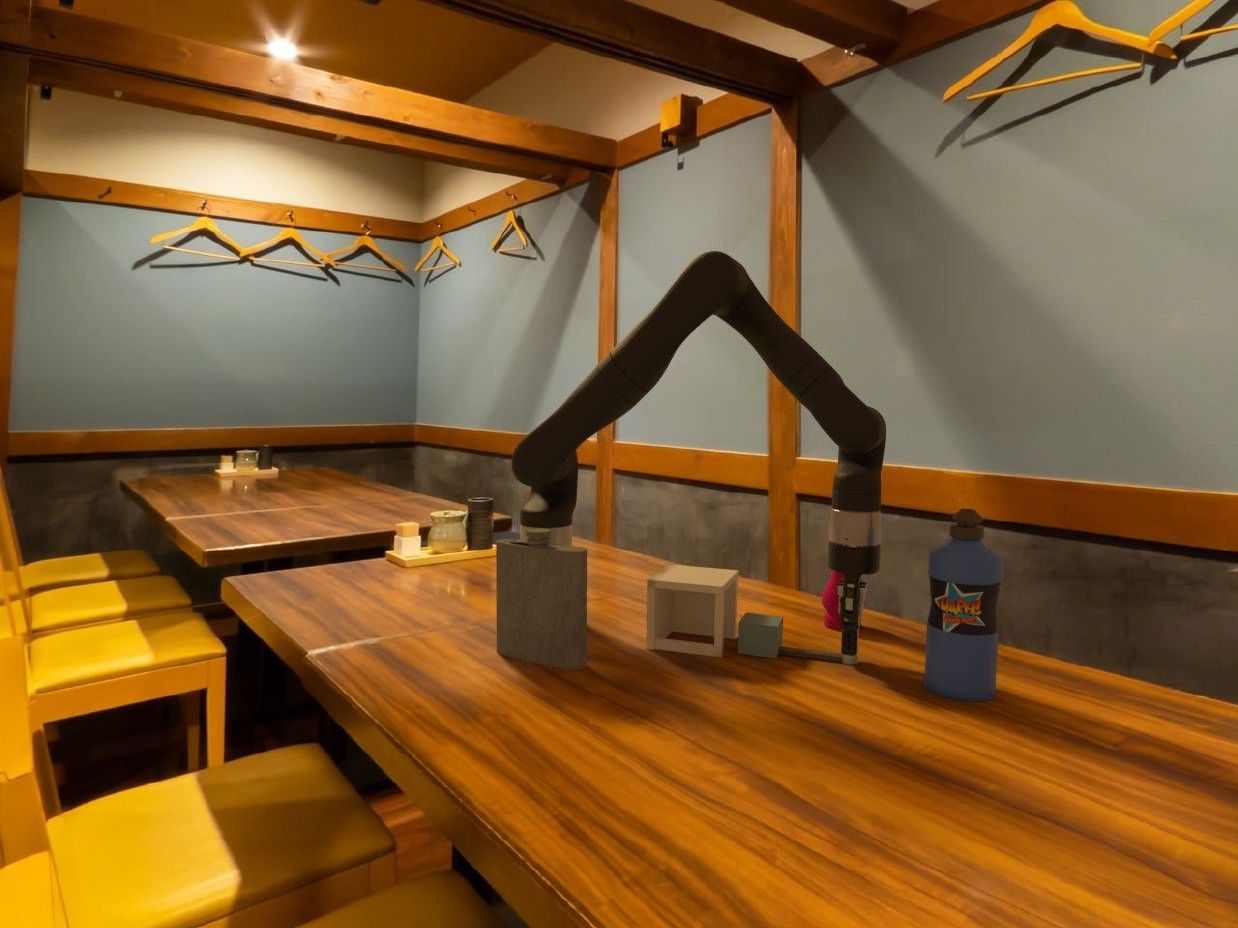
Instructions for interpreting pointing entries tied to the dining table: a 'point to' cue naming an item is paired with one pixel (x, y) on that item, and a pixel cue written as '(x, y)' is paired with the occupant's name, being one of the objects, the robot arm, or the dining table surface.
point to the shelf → (691, 608)
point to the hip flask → (541, 601)
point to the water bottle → (963, 613)
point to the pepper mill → (832, 601)
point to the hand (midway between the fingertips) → (849, 651)
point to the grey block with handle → (777, 640)
